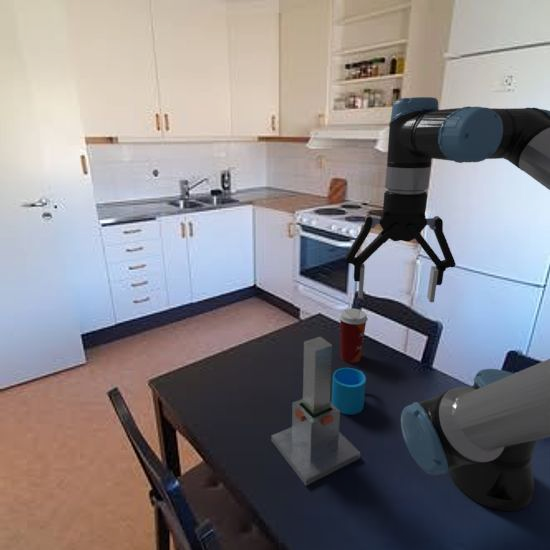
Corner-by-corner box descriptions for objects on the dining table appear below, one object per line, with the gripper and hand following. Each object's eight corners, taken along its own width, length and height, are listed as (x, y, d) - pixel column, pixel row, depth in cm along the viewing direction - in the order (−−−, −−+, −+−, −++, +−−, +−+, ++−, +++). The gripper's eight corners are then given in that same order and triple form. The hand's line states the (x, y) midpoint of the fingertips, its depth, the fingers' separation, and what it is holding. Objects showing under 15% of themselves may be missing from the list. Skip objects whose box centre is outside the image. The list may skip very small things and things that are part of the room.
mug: (353, 419, 97) (355, 391, 94) (325, 405, 102) (326, 378, 100) (376, 395, 106) (379, 369, 103) (350, 383, 111) (351, 358, 108)
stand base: (360, 458, 86) (363, 414, 82) (305, 485, 80) (306, 439, 75) (321, 419, 97) (323, 378, 93) (271, 440, 91) (270, 398, 87)
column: (329, 423, 85) (333, 345, 78) (312, 430, 83) (315, 351, 76) (317, 411, 88) (320, 336, 82) (301, 418, 86) (302, 341, 80)
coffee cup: (366, 364, 119) (370, 319, 114) (339, 364, 119) (341, 319, 114) (361, 350, 127) (364, 307, 122) (335, 350, 127) (337, 307, 122)
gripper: (472, 188, 74) (455, 293, 82) (336, 186, 78) (332, 287, 85) (485, 194, 67) (466, 309, 75) (336, 192, 71) (331, 301, 79)
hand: (394, 297), depth 80 cm, fingers open, 13 cm apart
